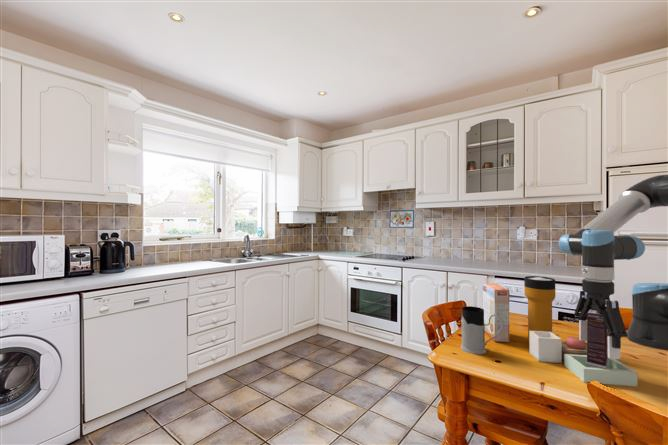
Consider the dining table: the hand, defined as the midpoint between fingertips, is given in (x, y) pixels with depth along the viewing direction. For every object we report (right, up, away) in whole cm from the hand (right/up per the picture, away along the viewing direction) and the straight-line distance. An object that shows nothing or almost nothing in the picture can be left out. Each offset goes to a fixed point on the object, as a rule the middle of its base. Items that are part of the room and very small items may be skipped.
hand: (598, 348), depth 95 cm
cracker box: (-14, -9, +33) cm, 37 cm away
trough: (0, -8, 0) cm, 8 cm away
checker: (+2, -8, +12) cm, 15 cm away
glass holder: (-27, -9, +19) cm, 34 cm away
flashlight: (-1, -8, +25) cm, 26 cm away
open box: (-8, -8, +13) cm, 17 cm away
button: (+2, -4, +12) cm, 13 cm away
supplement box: (0, -4, 0) cm, 4 cm away
